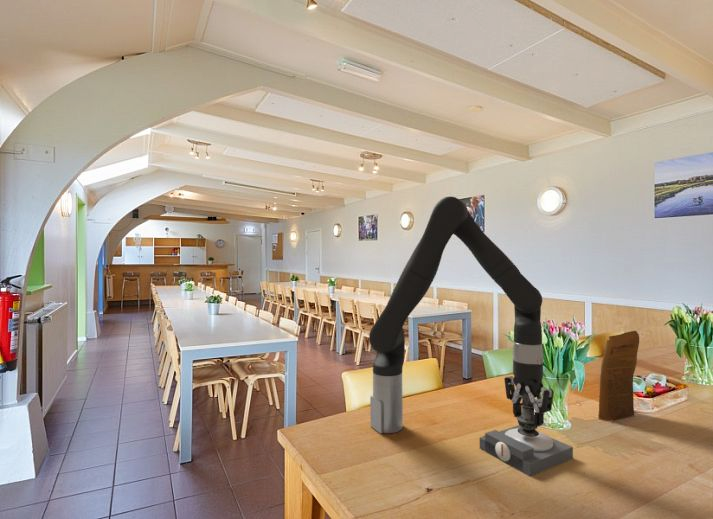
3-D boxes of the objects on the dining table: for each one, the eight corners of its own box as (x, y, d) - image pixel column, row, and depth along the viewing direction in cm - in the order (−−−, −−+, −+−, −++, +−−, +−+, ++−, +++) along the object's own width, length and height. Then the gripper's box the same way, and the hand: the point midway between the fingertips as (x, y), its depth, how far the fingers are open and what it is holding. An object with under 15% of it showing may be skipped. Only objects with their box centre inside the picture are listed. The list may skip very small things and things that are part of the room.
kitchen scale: (529, 476, 94) (528, 456, 94) (478, 448, 108) (478, 430, 108) (572, 458, 102) (572, 439, 102) (520, 434, 116) (520, 417, 116)
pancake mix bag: (648, 415, 129) (647, 331, 129) (608, 425, 122) (608, 336, 122) (627, 408, 136) (627, 328, 136) (589, 417, 129) (588, 332, 129)
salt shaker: (542, 438, 102) (542, 392, 102) (518, 436, 103) (518, 390, 103) (536, 428, 108) (536, 385, 108) (514, 426, 109) (514, 384, 109)
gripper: (496, 355, 110) (497, 414, 110) (542, 367, 98) (542, 434, 98) (514, 352, 114) (515, 409, 114) (561, 363, 101) (561, 428, 101)
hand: (527, 420), depth 106 cm, fingers closed on salt shaker, 6 cm apart
